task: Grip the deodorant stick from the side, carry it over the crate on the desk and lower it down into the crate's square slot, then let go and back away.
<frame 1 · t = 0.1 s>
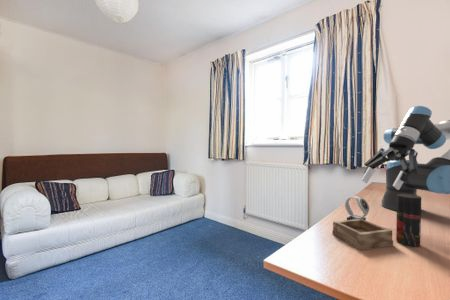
hand: (378, 184, 89), 15 cm above the table, tool tilted 35°, fingers open, 13 cm apart
watch: (356, 226, 86), on the table
deodorant: (407, 243, 71), on the table
crate: (360, 239, 74), on the table
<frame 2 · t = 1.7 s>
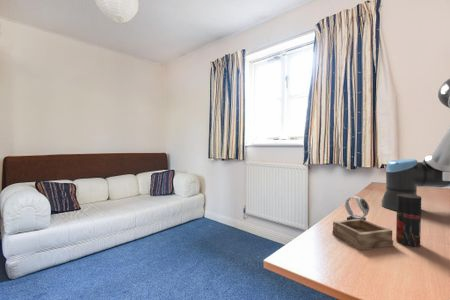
hand: (446, 178, 66), 21 cm above the table, tool horizontal, fingers open, 13 cm apart
nothing on the table moved.
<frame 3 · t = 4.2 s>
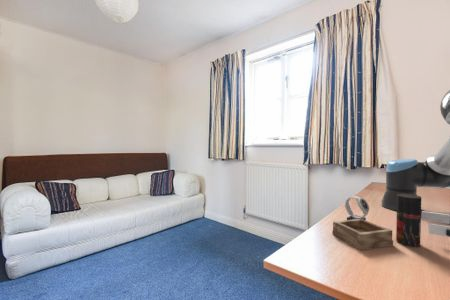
hand: (425, 221, 68), 8 cm above the table, tool horizontal, fingers open, 13 cm apart
nothing on the table moved.
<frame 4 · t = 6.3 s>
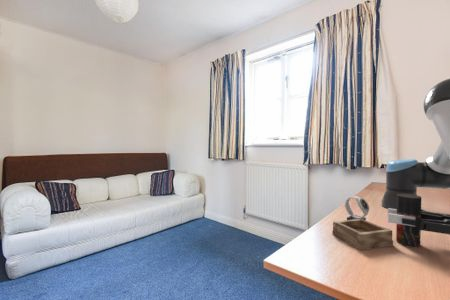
hand: (388, 214, 74), 8 cm above the table, tool horizontal, fingers closed on deodorant, 6 cm apart
deodorant: (407, 243, 71), on the table, touching gripper
everything else where it was.
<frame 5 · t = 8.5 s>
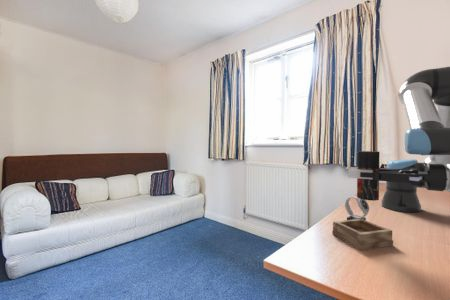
hand: (349, 172, 75), 22 cm above the table, tool horizontal, fingers closed on deodorant, 6 cm apart
deodorant: (367, 198, 73), point 14 cm above the table, touching gripper
everything else where it was.
when the fingers open (10 cm above the table, at t = 11.1 s): deodorant stays where it is, resting on crate.
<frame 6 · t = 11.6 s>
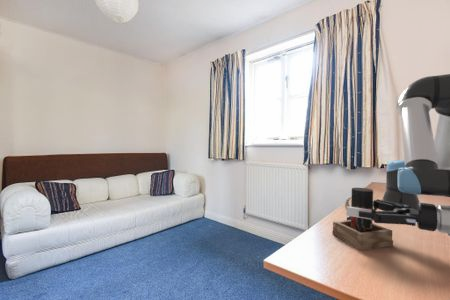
hand: (349, 206, 76), 10 cm above the table, tool horizontal, fingers open, 12 cm apart
deodorant: (361, 235, 74), point 1 cm above the table, touching crate
everything else where it was.
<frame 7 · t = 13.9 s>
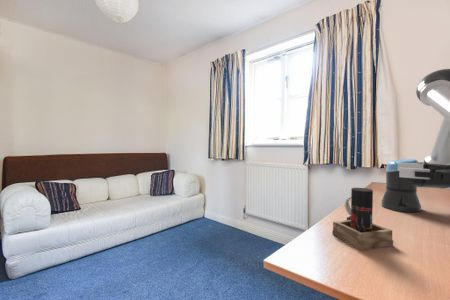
hand: (398, 169, 71), 23 cm above the table, tool horizontal, fingers open, 13 cm apart
nothing on the table moved.
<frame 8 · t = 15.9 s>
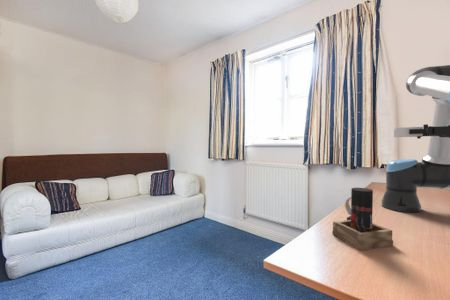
hand: (394, 132, 77), 35 cm above the table, tool horizontal, fingers open, 13 cm apart
nothing on the table moved.
at the end: deodorant 0.0 cm off-centre on the crate, point 1.3 cm above the crate's base; deodorant tilted 0°; the gripper is holding nothing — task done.
